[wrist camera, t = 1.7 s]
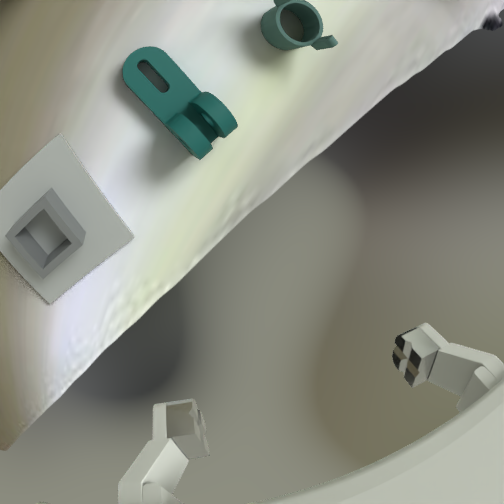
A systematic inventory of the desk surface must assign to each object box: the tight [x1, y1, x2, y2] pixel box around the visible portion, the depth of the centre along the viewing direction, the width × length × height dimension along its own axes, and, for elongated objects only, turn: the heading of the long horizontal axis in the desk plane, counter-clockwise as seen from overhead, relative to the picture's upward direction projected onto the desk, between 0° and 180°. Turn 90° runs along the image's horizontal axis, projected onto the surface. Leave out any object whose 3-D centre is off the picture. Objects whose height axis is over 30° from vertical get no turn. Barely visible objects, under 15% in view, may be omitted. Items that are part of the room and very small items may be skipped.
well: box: [0, 133, 134, 304], centre depth 35 cm, size 20×20×6 cm
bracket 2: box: [261, 0, 338, 50], centre depth 34 cm, size 9×9×9 cm
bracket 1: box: [123, 47, 238, 160], centre depth 34 cm, size 18×7×8 cm, turn 39°
